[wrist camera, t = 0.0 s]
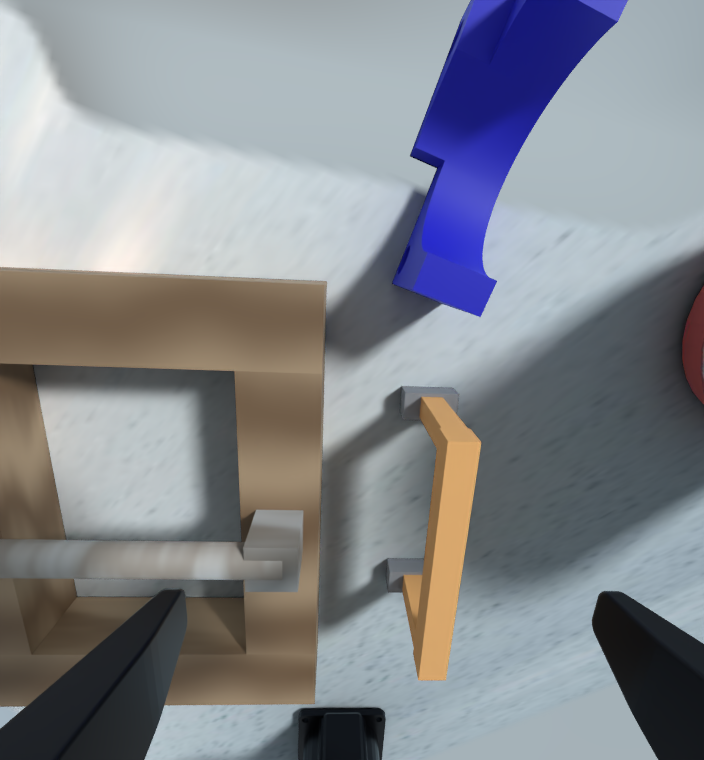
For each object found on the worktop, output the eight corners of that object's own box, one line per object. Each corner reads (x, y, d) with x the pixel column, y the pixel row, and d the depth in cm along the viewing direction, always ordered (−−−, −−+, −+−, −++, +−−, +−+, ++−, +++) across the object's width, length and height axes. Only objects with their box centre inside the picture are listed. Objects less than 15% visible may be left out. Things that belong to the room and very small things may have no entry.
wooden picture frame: (317, 643, 28) (311, 764, 21) (25, 643, 27) (-80, 770, 20) (326, 281, 21) (321, 288, 14) (-69, 264, 20) (-280, 262, 13)
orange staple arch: (429, 578, 26) (460, 683, 20) (385, 578, 26) (402, 683, 20) (453, 387, 23) (501, 438, 16) (402, 386, 22) (429, 436, 16)
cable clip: (461, 19, 18) (520, -100, 12) (546, 62, 18) (642, -31, 13) (365, 273, 21) (377, 275, 15) (441, 303, 21) (480, 316, 16)
